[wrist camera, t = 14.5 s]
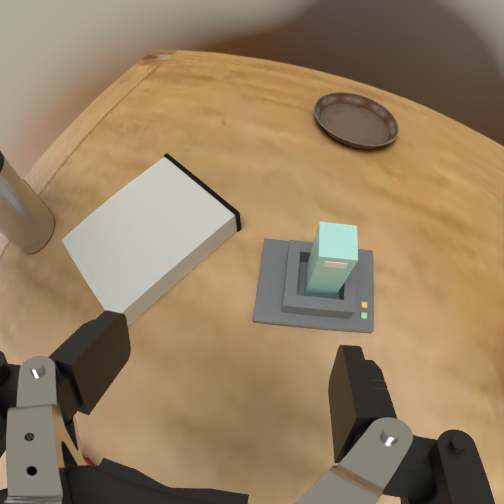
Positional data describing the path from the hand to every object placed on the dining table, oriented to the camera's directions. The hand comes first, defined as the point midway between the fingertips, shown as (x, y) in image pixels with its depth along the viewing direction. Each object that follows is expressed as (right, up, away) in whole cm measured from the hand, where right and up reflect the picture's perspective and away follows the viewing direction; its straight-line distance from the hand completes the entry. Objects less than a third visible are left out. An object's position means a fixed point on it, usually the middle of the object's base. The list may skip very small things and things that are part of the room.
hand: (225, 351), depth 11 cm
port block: (+10, -1, +31) cm, 33 cm away
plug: (+10, -1, +30) cm, 32 cm away
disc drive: (-15, +5, +36) cm, 39 cm away
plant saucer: (+22, +29, +47) cm, 59 cm away
